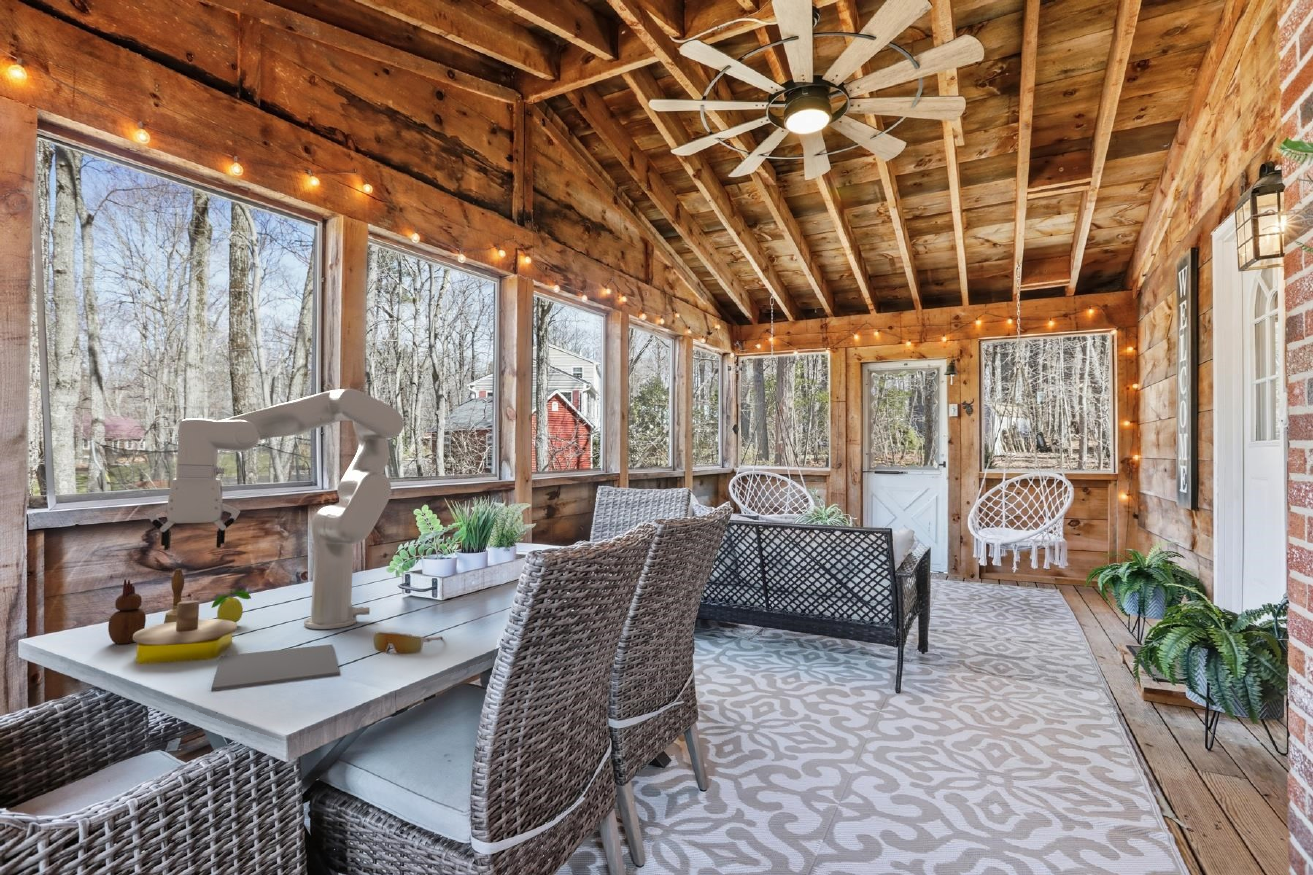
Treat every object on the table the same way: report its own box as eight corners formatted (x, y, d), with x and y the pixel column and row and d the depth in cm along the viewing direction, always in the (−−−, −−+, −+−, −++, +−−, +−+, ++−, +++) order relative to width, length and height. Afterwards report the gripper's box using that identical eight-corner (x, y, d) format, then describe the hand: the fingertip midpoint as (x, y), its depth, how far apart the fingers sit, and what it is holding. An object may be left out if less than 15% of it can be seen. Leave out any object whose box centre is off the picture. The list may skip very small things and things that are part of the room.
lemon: (250, 624, 172) (252, 585, 172) (235, 629, 166) (237, 590, 166) (225, 623, 172) (227, 584, 172) (209, 628, 166) (211, 589, 166)
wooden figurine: (121, 647, 149) (125, 581, 149) (101, 644, 150) (105, 579, 151) (150, 639, 155) (154, 576, 156) (130, 637, 157) (134, 574, 157)
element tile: (159, 646, 152) (160, 625, 152) (234, 642, 157) (235, 622, 157) (132, 666, 137) (133, 643, 138) (215, 661, 142) (216, 639, 143)
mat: (332, 646, 154) (332, 644, 154) (339, 674, 135) (339, 671, 135) (220, 658, 143) (220, 655, 143) (211, 690, 124) (211, 687, 124)
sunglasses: (361, 652, 151) (364, 630, 152) (398, 644, 165) (400, 624, 166) (416, 657, 148) (419, 635, 149) (449, 649, 163) (451, 628, 163)
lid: (238, 619, 160) (240, 591, 160) (234, 638, 143) (236, 607, 143) (141, 627, 150) (142, 597, 150) (124, 648, 134) (126, 615, 134)
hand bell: (151, 639, 155) (155, 572, 156) (158, 631, 162) (162, 567, 163) (193, 636, 159) (197, 570, 159) (199, 628, 166) (202, 565, 167)
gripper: (242, 472, 156) (239, 544, 156) (152, 471, 148) (148, 547, 147) (240, 473, 150) (237, 548, 149) (146, 473, 141) (142, 552, 141)
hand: (193, 548), depth 148 cm, fingers open, 9 cm apart
